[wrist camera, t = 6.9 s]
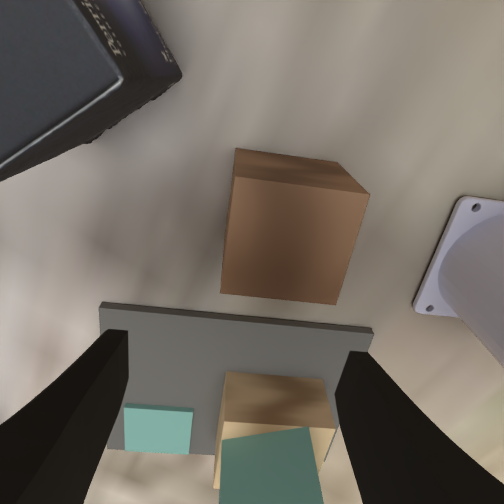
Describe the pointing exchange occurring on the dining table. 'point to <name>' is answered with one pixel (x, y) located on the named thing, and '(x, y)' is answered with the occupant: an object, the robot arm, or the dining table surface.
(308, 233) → the walnut block
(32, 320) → the dining table surface
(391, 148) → the dining table surface
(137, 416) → the swatch
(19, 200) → the dining table surface
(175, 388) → the placemat
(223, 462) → the teal block
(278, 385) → the oak block
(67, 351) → the dining table surface
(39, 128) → the small box
